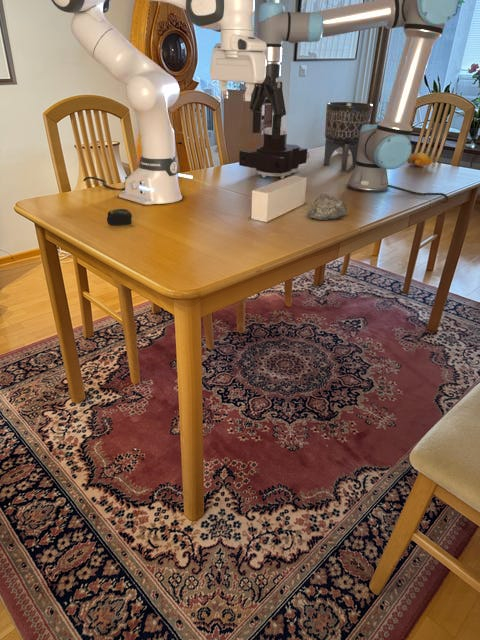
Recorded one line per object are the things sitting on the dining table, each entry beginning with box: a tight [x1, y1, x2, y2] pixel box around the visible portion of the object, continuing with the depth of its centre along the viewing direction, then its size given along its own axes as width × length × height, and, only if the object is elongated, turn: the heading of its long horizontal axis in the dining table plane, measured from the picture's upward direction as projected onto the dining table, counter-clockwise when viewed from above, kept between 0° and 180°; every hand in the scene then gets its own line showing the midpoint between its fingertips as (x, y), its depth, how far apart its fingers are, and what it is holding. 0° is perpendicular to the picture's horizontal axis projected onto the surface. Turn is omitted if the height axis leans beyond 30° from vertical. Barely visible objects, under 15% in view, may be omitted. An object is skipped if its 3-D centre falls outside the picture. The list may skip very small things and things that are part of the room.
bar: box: [250, 175, 308, 223], centre depth 147 cm, size 25×6×9 cm, turn 146°
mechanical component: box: [238, 126, 311, 179], centre depth 191 cm, size 22×21×30 cm
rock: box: [307, 192, 348, 221], centre depth 142 cm, size 13×9×6 cm, turn 131°
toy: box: [406, 151, 434, 168], centre depth 216 cm, size 11×6×15 cm
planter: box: [323, 101, 374, 172], centre depth 204 cm, size 20×20×26 cm
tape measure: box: [106, 208, 133, 227], centre depth 132 cm, size 7×7×4 cm
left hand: (235, 99), depth 130 cm, fingers open, 8 cm apart
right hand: (265, 135), depth 152 cm, fingers open, 13 cm apart
